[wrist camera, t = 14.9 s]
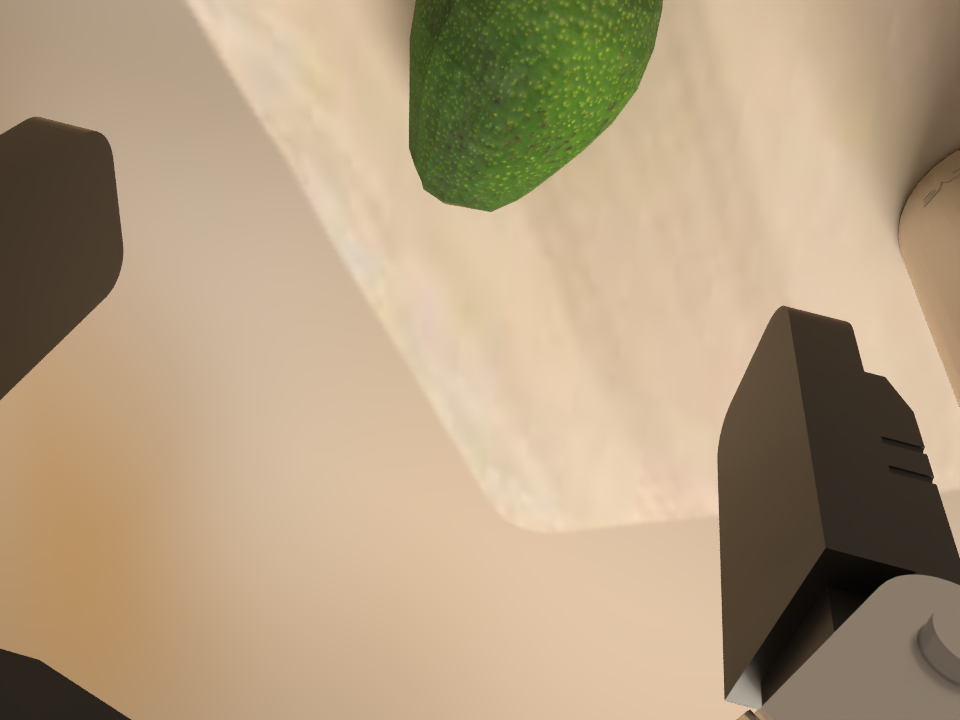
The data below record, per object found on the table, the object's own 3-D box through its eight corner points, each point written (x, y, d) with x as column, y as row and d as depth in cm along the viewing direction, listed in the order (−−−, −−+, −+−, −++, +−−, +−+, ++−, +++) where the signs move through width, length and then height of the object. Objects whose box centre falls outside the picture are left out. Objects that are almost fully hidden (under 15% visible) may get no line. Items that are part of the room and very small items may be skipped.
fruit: (541, 203, 46) (509, 302, 38) (379, 106, 44) (311, 189, 37) (718, -63, 37) (724, -4, 29) (520, -195, 35) (471, -171, 27)
